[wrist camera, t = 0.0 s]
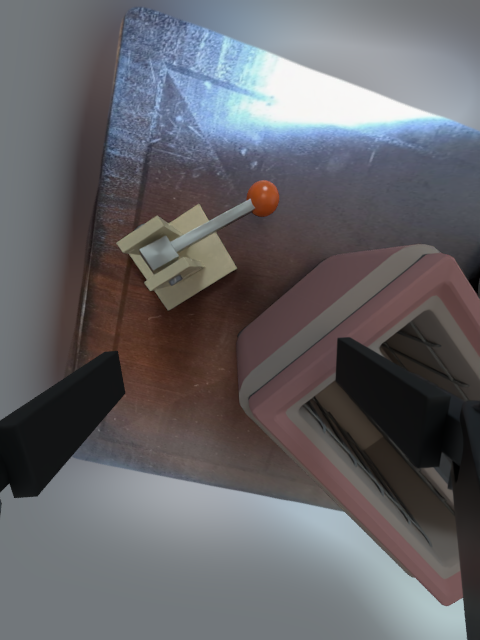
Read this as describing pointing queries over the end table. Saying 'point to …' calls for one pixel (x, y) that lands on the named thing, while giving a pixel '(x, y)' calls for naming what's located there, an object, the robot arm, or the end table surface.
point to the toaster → (345, 413)
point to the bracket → (180, 258)
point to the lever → (211, 226)
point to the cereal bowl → (479, 289)
